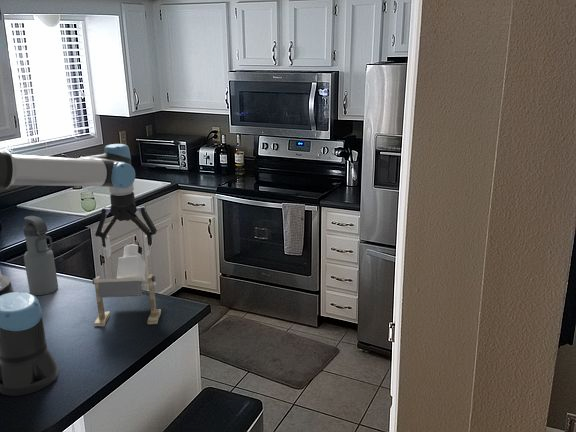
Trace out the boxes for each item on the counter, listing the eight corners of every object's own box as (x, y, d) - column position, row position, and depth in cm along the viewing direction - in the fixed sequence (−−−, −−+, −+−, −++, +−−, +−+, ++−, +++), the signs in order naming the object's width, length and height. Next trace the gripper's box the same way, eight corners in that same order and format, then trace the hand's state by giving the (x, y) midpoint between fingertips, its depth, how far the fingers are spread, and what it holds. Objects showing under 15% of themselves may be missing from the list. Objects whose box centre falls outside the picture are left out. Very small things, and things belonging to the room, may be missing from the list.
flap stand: (157, 323, 176) (153, 281, 171) (94, 326, 175) (88, 283, 170) (161, 312, 183) (157, 271, 179) (101, 315, 182) (95, 273, 178)
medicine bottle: (125, 283, 188) (127, 250, 193) (145, 281, 187) (147, 248, 192) (116, 277, 182) (119, 243, 187) (136, 275, 181) (138, 241, 186)
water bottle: (64, 288, 203) (53, 216, 195) (40, 298, 195) (28, 224, 187) (48, 282, 208) (36, 212, 200) (24, 292, 201) (11, 219, 192)
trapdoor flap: (143, 294, 167) (143, 277, 168) (93, 297, 167) (93, 279, 168) (155, 298, 188) (156, 282, 189) (111, 300, 187) (111, 284, 188)
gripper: (162, 188, 180) (167, 249, 187) (86, 190, 179) (94, 252, 185) (158, 194, 173) (164, 257, 180) (79, 196, 172) (88, 260, 178)
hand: (128, 254), depth 182 cm, fingers open, 12 cm apart
